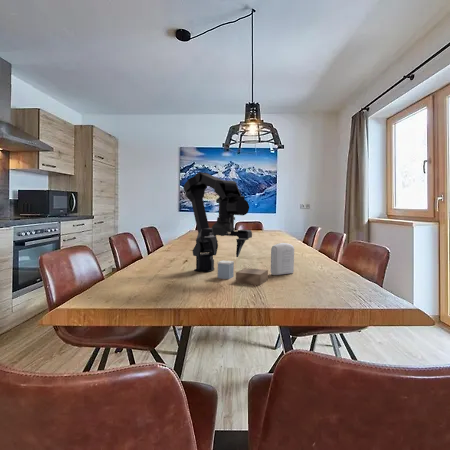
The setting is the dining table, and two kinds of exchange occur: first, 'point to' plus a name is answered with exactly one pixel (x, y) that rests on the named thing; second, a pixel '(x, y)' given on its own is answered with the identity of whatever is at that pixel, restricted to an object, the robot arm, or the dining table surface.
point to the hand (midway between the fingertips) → (225, 256)
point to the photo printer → (282, 259)
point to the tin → (225, 269)
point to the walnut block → (252, 276)
